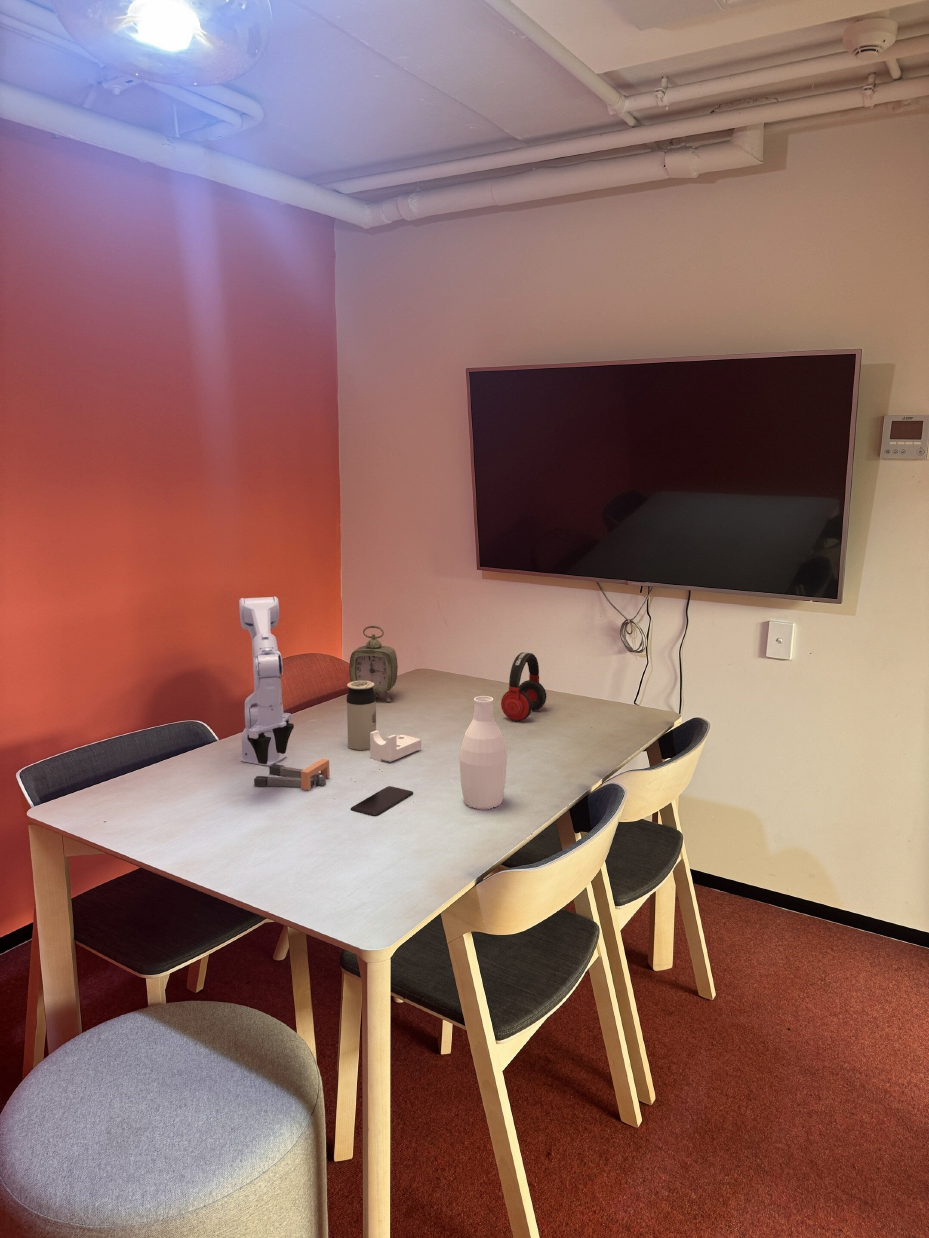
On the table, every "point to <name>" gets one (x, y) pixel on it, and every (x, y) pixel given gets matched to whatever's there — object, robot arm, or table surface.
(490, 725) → the bottle
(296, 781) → the tong arm
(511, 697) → the headphones
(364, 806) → the smartphone
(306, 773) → the orange bridge block
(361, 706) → the travel mug
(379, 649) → the tabletop clock
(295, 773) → the base
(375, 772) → the table surface
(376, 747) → the bracket
